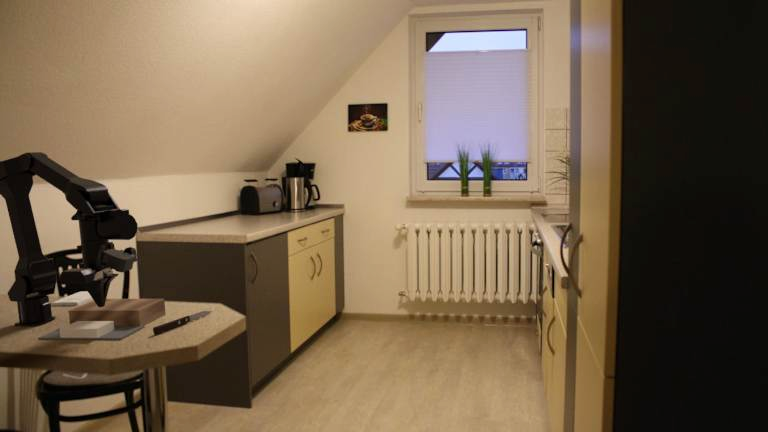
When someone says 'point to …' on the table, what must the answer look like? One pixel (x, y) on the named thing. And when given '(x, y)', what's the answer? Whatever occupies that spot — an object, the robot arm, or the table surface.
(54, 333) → the mat
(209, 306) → the table surface
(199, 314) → the kitchen knife
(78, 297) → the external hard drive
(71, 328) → the tile
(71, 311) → the brown wooden block
